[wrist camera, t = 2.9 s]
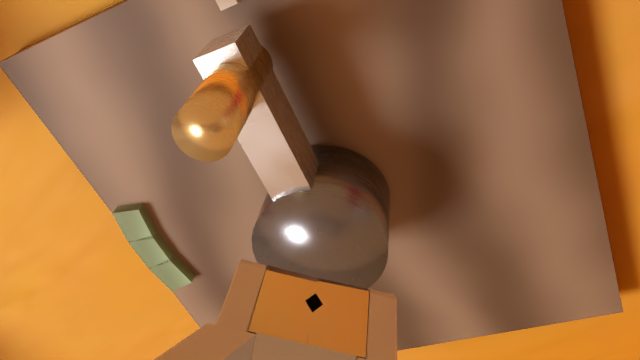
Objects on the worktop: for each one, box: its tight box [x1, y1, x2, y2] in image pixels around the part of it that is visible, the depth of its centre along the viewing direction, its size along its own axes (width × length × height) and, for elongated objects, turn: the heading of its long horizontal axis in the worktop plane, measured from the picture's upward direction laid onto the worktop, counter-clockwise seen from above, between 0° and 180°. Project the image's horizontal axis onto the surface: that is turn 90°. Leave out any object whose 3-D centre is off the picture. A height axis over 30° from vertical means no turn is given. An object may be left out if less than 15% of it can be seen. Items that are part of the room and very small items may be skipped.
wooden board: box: [0, 0, 623, 351], centre depth 27 cm, size 24×24×2 cm
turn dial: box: [171, 24, 390, 289], centre depth 22 cm, size 12×6×7 cm, turn 24°
